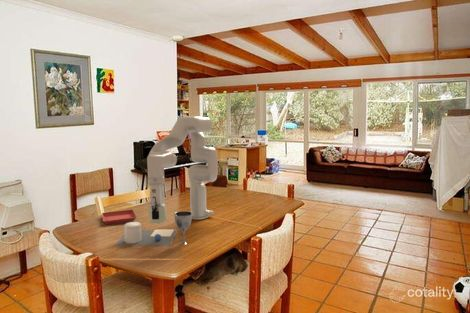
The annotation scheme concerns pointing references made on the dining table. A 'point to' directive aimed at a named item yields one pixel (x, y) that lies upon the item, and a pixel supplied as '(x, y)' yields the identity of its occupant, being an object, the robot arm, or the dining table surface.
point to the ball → (157, 237)
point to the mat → (152, 237)
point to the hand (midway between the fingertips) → (157, 216)
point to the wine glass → (183, 222)
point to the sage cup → (161, 214)
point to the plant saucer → (118, 217)
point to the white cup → (132, 232)
